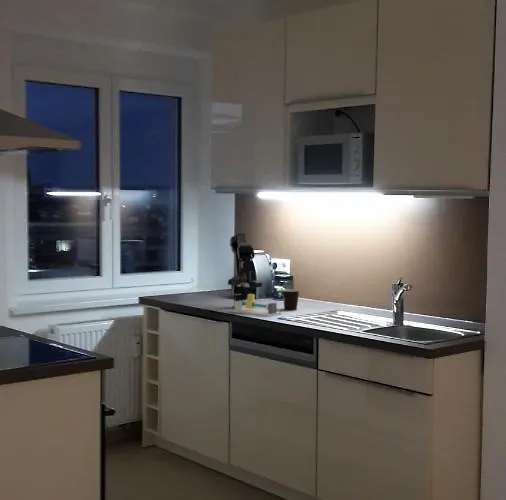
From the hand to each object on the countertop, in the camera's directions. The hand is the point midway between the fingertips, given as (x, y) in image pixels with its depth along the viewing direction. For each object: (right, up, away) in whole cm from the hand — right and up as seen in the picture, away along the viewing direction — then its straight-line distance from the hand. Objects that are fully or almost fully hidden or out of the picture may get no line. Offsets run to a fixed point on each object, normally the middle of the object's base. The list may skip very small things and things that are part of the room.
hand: (244, 299), depth 412 cm
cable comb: (+6, -6, -5) cm, 10 cm away
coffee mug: (+24, -6, +10) cm, 27 cm away
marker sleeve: (+3, -4, -2) cm, 6 cm away
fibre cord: (+6, -6, -5) cm, 10 cm away
